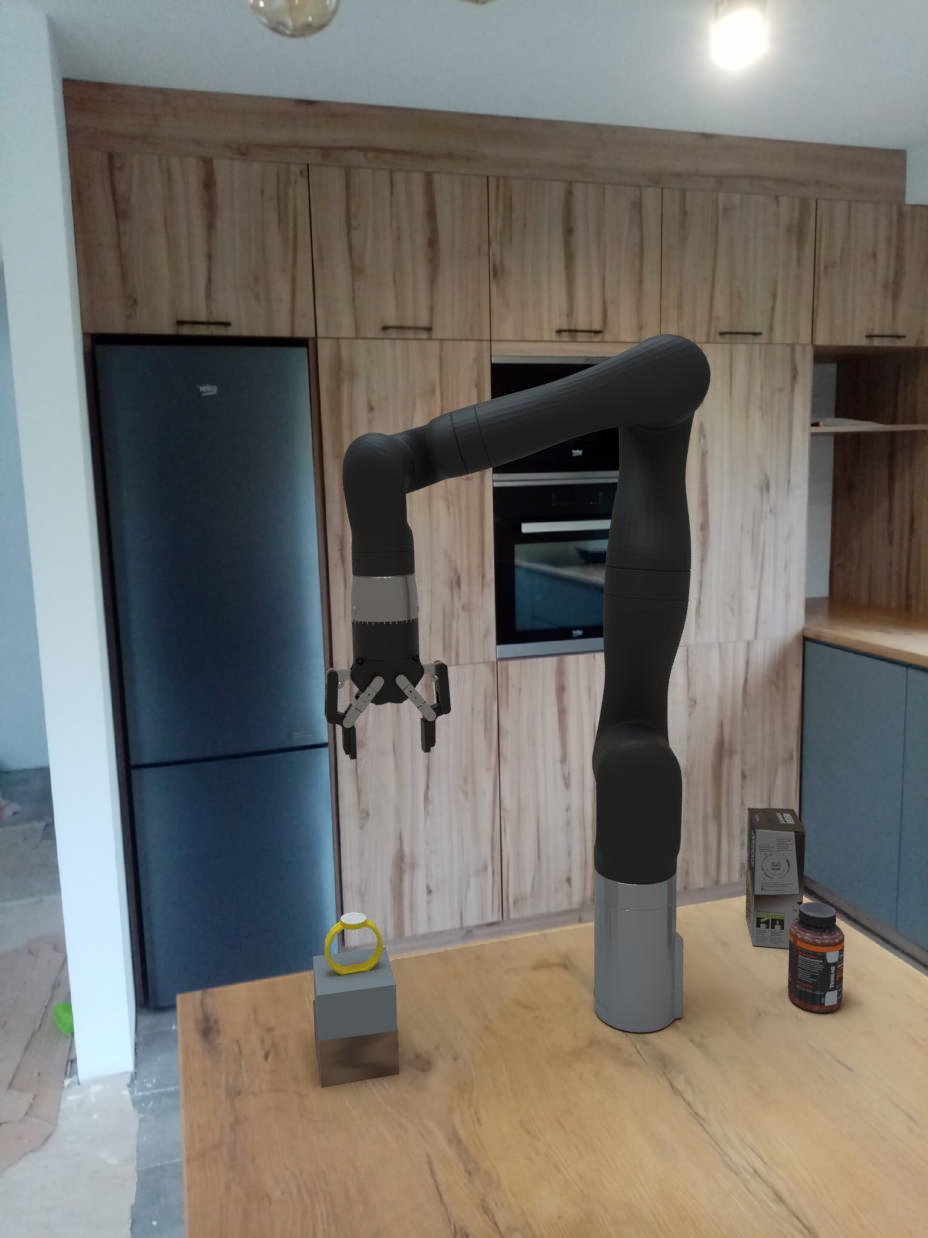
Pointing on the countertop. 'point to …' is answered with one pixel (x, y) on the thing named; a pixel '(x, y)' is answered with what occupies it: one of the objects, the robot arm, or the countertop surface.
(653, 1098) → the countertop surface
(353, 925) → the watch
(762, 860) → the coffee box
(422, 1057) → the countertop surface
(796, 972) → the supplement bottle
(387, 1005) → the grey block
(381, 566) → the robot arm
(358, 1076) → the walnut block
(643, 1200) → the countertop surface
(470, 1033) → the countertop surface
